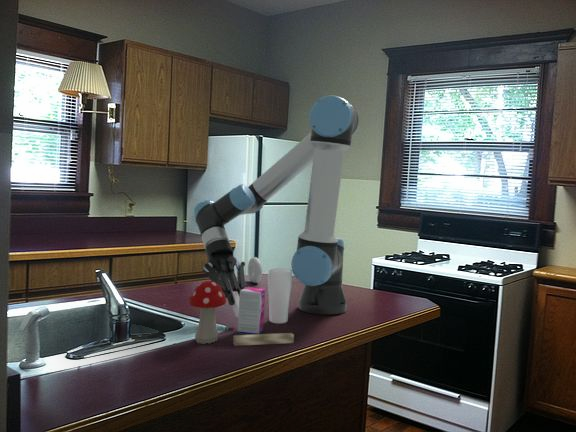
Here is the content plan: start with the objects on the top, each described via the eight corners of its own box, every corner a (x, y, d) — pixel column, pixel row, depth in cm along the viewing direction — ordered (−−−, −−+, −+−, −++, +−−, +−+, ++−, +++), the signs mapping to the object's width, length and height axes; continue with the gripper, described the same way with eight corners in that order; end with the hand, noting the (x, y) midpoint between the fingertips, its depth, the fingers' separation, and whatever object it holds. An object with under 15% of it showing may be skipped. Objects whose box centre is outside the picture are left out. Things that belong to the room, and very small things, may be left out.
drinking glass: (276, 317, 168) (278, 267, 167) (294, 321, 164) (296, 270, 163) (261, 321, 162) (263, 269, 161) (280, 326, 158) (282, 272, 157)
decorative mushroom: (209, 348, 136) (210, 286, 135) (180, 342, 140) (182, 281, 139) (232, 338, 145) (234, 280, 144) (204, 333, 149) (206, 276, 148)
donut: (246, 280, 224) (246, 255, 223) (254, 280, 226) (255, 255, 225) (254, 285, 215) (255, 259, 214) (263, 285, 216) (264, 259, 216)
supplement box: (258, 335, 148) (260, 292, 147) (236, 333, 149) (238, 290, 149) (264, 330, 154) (265, 288, 153) (243, 328, 155) (244, 286, 154)
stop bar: (291, 340, 145) (291, 332, 145) (293, 342, 143) (293, 335, 143) (233, 343, 141) (233, 335, 141) (234, 345, 139) (234, 337, 139)
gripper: (233, 252, 175) (256, 319, 162) (193, 254, 168) (213, 323, 155) (241, 237, 170) (265, 304, 157) (200, 238, 163) (222, 308, 150)
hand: (240, 314), depth 156 cm, fingers closed
